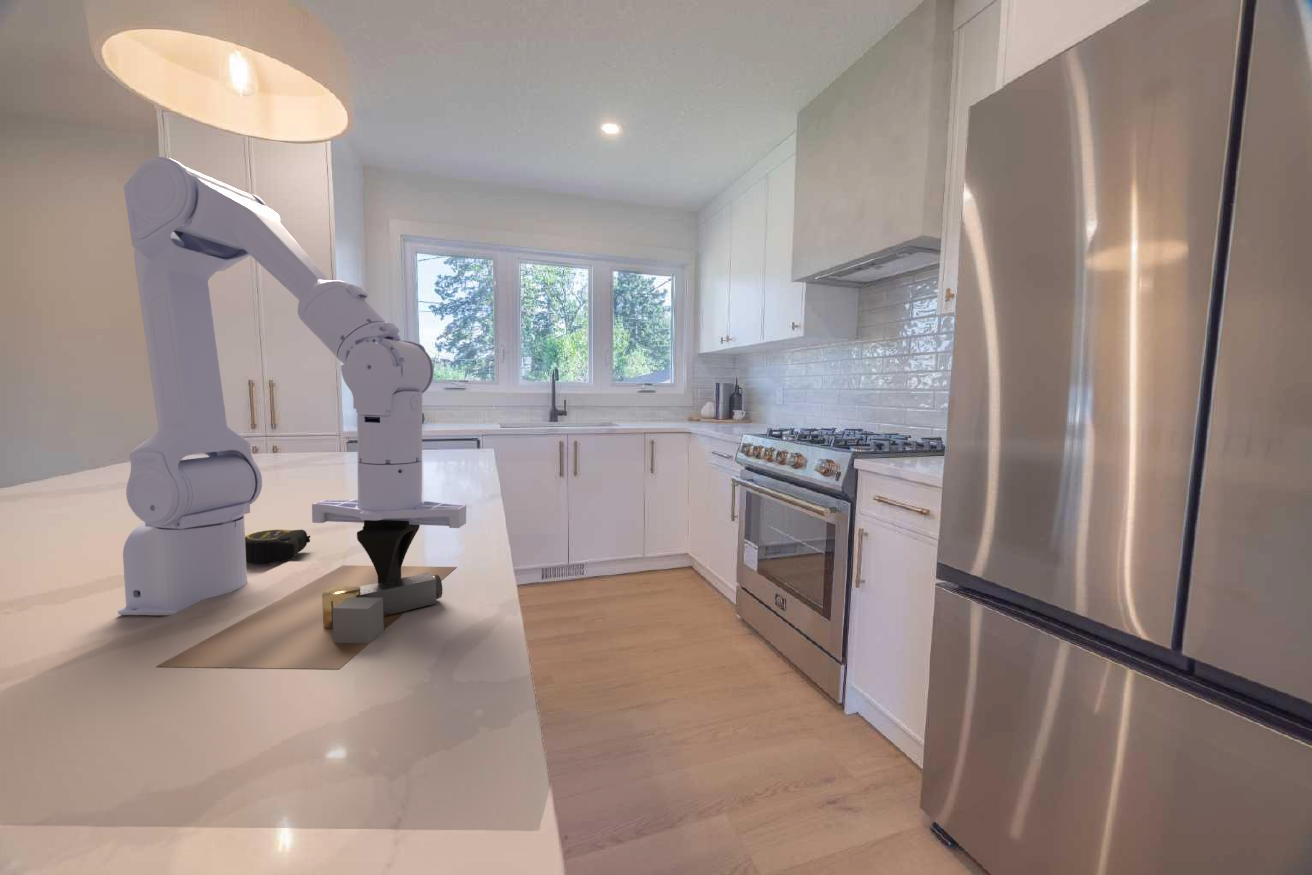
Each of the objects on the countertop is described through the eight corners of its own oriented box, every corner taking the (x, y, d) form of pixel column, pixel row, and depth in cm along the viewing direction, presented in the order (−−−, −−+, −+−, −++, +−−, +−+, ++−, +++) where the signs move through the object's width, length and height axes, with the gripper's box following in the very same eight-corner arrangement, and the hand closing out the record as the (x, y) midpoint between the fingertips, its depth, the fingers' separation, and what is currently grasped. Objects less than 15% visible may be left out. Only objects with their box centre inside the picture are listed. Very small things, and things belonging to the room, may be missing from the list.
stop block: (333, 642, 44) (332, 608, 44) (350, 629, 46) (349, 597, 46) (368, 642, 44) (368, 608, 44) (383, 630, 46) (382, 597, 46)
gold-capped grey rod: (326, 631, 46) (325, 600, 45) (320, 619, 48) (319, 590, 48) (443, 602, 52) (443, 575, 52) (433, 593, 54) (433, 567, 54)
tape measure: (293, 567, 68) (292, 539, 67) (230, 571, 66) (229, 542, 65) (311, 552, 74) (310, 526, 74) (254, 555, 72) (253, 529, 72)
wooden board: (156, 685, 40) (155, 666, 40) (342, 577, 64) (342, 565, 64) (339, 687, 40) (339, 668, 40) (457, 578, 64) (457, 566, 64)
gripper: (289, 463, 48) (291, 606, 49) (447, 469, 48) (446, 612, 49) (336, 454, 55) (337, 580, 56) (474, 459, 55) (472, 585, 56)
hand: (390, 593), depth 53 cm, fingers closed, pressing on gold-capped grey rod
